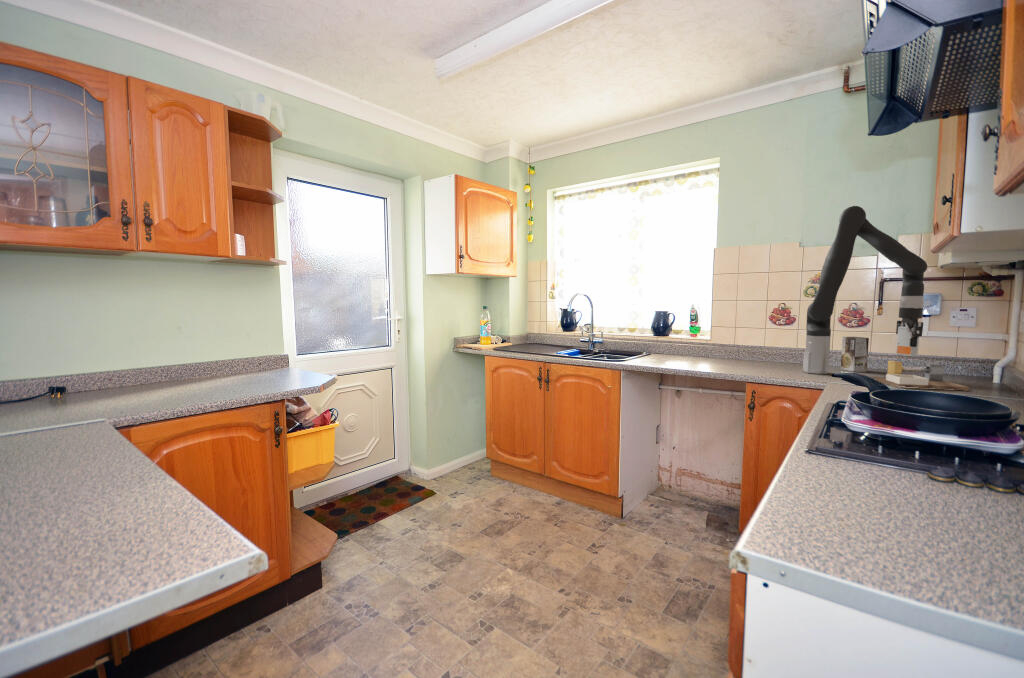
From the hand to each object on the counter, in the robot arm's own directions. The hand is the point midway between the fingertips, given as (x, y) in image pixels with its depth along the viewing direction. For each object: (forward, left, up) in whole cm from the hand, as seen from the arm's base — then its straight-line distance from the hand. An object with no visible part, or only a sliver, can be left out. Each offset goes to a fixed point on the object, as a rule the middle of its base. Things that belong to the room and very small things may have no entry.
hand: (907, 345), depth 190 cm
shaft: (-3, -10, -12) cm, 16 cm away
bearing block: (+4, -10, -13) cm, 17 cm away
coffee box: (-10, +22, -14) cm, 28 cm away
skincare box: (0, 0, -4) cm, 4 cm away
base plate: (-4, -16, -14) cm, 22 cm away
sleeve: (-10, -20, -13) cm, 26 cm away
